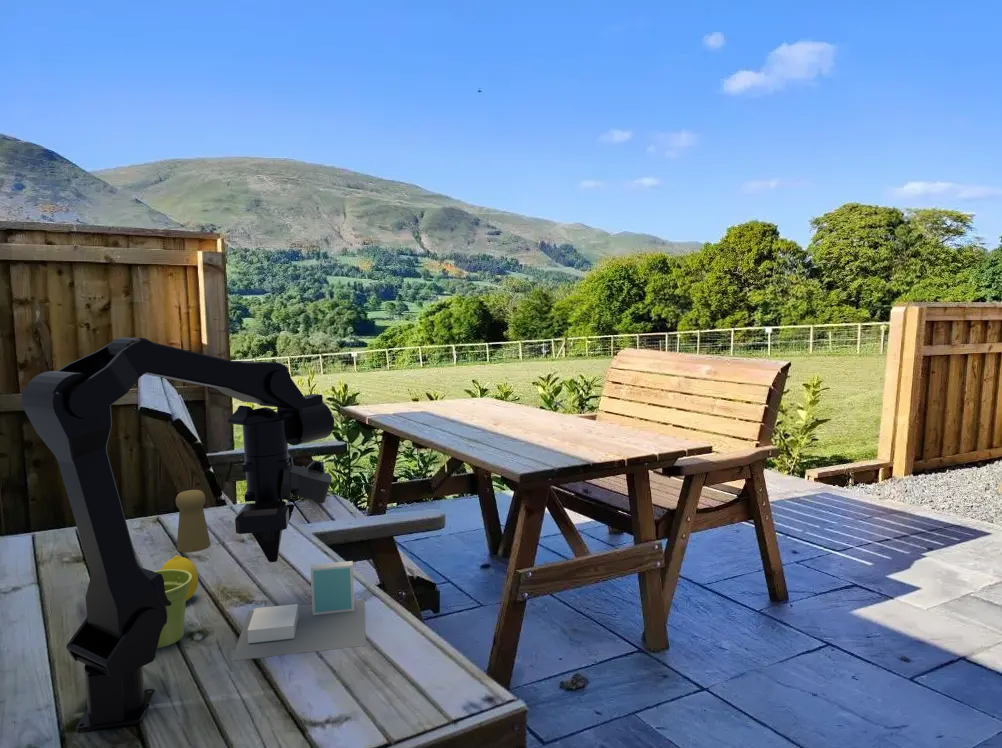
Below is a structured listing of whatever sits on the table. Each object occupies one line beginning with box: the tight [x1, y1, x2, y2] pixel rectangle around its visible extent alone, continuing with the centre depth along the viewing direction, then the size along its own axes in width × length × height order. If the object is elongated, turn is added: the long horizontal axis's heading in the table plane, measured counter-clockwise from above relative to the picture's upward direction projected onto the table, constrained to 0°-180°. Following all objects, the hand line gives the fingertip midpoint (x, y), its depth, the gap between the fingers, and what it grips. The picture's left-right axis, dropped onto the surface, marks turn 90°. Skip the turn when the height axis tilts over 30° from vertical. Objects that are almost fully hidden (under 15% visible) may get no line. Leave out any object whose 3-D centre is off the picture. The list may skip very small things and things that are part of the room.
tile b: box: [310, 560, 355, 615], centre depth 103 cm, size 2×6×7 cm, turn 102°
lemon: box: [160, 555, 199, 602], centre depth 107 cm, size 6×6×8 cm
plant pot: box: [153, 569, 192, 649], centre depth 96 cm, size 9×9×9 cm
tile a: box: [247, 603, 299, 643], centre depth 98 cm, size 2×6×7 cm
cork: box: [175, 489, 211, 553], centre depth 134 cm, size 6×6×11 cm
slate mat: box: [230, 598, 367, 662], centre depth 99 cm, size 15×17×1 cm
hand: (273, 561), depth 98 cm, fingers closed
